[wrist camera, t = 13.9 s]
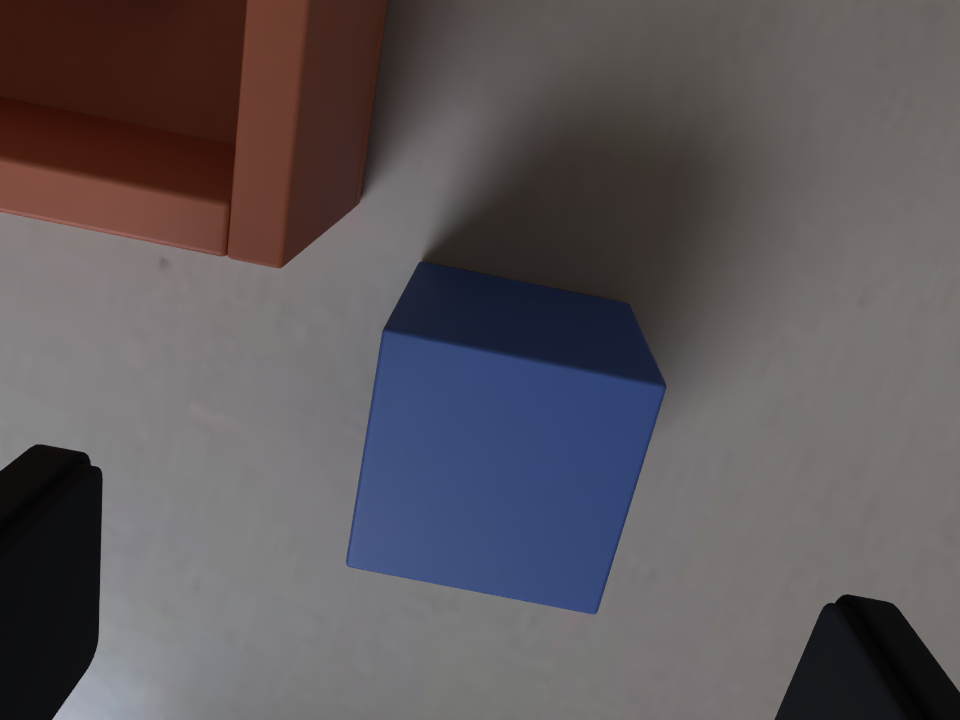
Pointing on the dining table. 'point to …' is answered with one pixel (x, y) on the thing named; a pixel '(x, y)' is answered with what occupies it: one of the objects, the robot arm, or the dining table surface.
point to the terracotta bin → (189, 118)
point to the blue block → (504, 438)
